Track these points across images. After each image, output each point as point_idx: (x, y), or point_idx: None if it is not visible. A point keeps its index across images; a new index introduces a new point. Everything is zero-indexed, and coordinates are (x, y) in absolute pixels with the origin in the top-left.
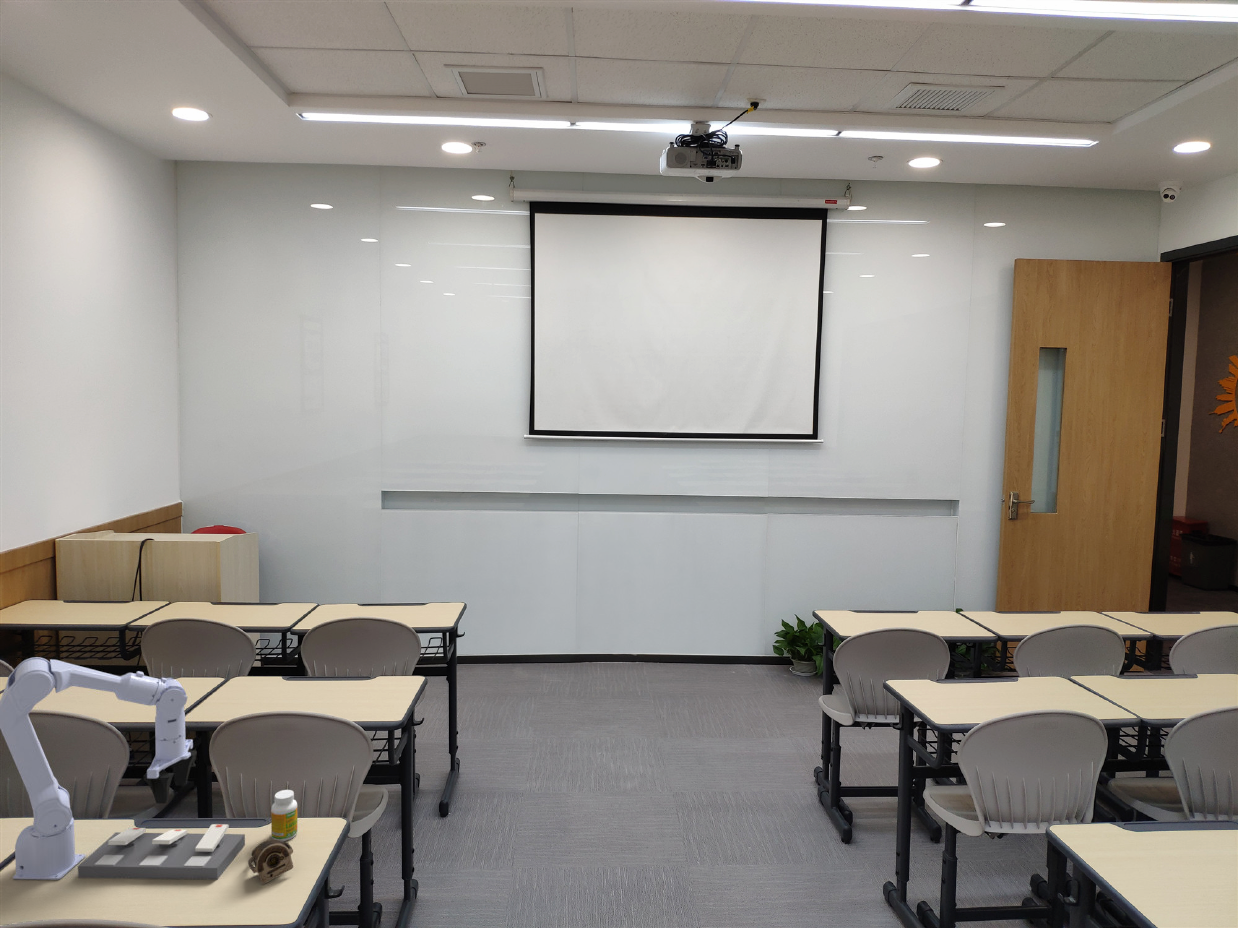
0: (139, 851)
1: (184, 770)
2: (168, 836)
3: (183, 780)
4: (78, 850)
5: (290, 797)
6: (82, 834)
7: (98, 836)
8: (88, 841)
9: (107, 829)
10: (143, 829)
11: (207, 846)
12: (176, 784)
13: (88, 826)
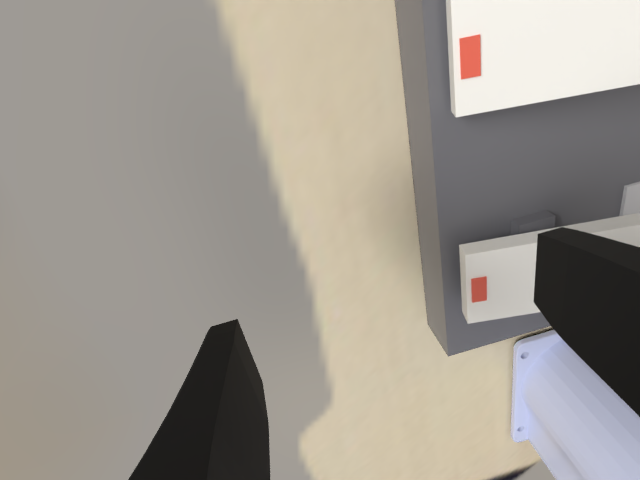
0: (593, 146)
1: (227, 475)
2: (613, 19)
3: (240, 366)
4: (477, 384)
5: None
6: (393, 442)
7: (396, 400)
8: (427, 400)
9: (352, 410)
10: (485, 251)
11: None
12: (261, 383)
13: (349, 463)
